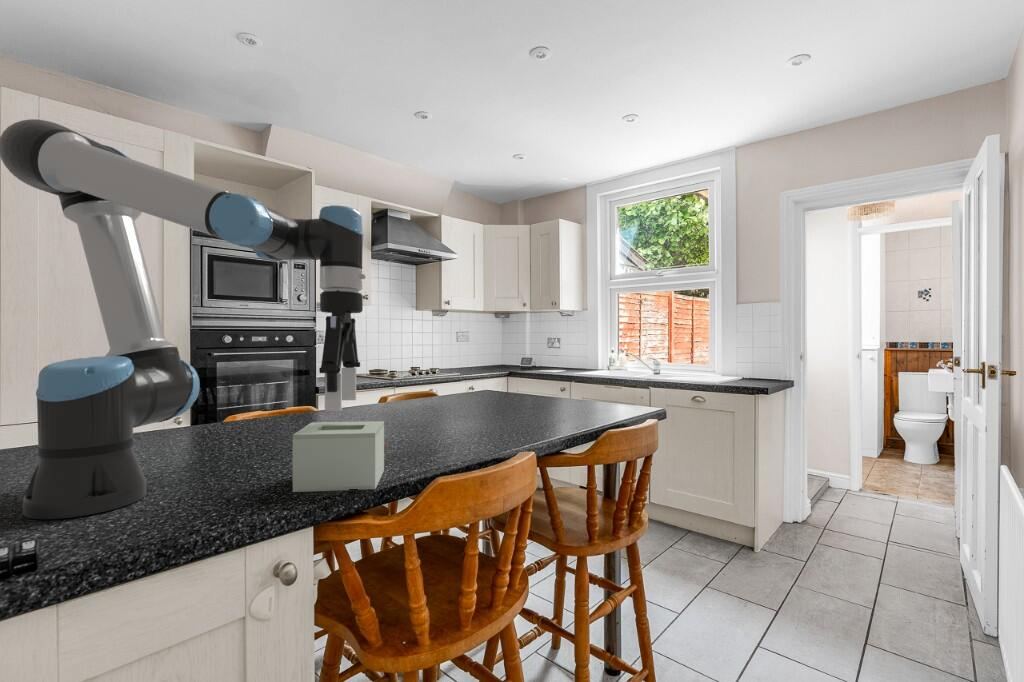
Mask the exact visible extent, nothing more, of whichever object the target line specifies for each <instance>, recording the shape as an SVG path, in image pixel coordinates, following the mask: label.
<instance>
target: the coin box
mask: <svg viewBox="0 0 1024 682" xmlns="http://www.w3.org/2000/svg"><path fill="white" fill-rule="evenodd" d="M384 443H385V421H384V420H383V421H382V420H381V421H380V420H377V421H375V420H371V421H326V422H325V421H322V422H318V421H315V422H313V421H312V422H310V423H309V424H307V425H306V426H304V427H302V428H301V429H299V430H298V431H296V432H295V433H293V434H292V493H303V492H333V491H334V492H335V491H350V490H349V489H358V490H357V491H362V490H363V491H364V490H376V488H377V486H378V484H379V481H380V480H381V478H382V476H383V474H384V471H385V451H384Z"/></svg>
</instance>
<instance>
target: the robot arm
mask: <svg viewBox="0 0 1024 682" xmlns="http://www.w3.org/2000/svg"><path fill="white" fill-rule="evenodd" d="M0 159H1V161H2V163H3V165H4V167H5V168H6V169H7V170H8V171H9V173H11V174H12V175H13V176H14V177H16V179H18V180H19V181H20V182H22V183H25V184H26V185H28V186H30V187H32V188H35V189H37V190H40V191H43V192H46V193H49V194H53V195H55V196H57V197H58V198H59V199H58V200H59V202H60V206H61V210H62V214H63V216H64V217H65V218H66V219H67V220H70V221H71V222H73V223H74V224H76V225H77V229H78V232H79V236H80V239H81V240H80V241H81V243H82V247H83V250H84V256H85V258H86V262H87V266H88V270H89V271H88V272H89V274H90V278H91V281H92V285H93V288H94V289H93V290H94V293H95V296H96V300H97V304H98V308H99V311H100V316H101V319H102V323H103V327H104V331H105V334H106V338H107V343H108V346H109V350H108V352H107V353H106V354H105V355H103V356H91V357H84V358H81V357H80V358H72V359H66V360H62V361H61V360H60V361H55V362H52V363H50V364H48V365H45V366H44V367H43V368H42V369H41V370H40V371H39V373H38V377H37V378H38V379H37V381H38V382H37V388H36V391H35V396H36V408H37V442H38V443H37V444H38V447H37V448H38V449H37V451H38V454H37V455H38V460H37V465H36V467H35V469H34V472H33V474H32V476H31V479H30V481H29V483H28V486H27V489H26V492H25V494H24V497H23V498H22V515H23V516H24V517H25V518H28V519H34V520H60V519H69V518H71V519H72V518H77V517H85V516H89V515H90V516H91V515H95V514H99V513H104V512H105V513H106V512H110V511H112V510H116V509H119V508H123V507H126V506H128V505H130V504H133V503H135V502H138V501H140V500H141V499H143V498H144V497H145V496H146V495H147V479H146V477H145V475H144V473H143V470H142V468H141V465H140V463H139V460H138V459H137V456H136V454H135V452H134V428H138V427H142V426H148V425H151V424H154V423H155V424H156V423H162V422H165V421H170V420H172V419H174V418H176V417H179V416H181V415H183V414H185V413H186V412H187V411H189V410H190V408H191V407H192V406H193V405H194V403H195V402H196V400H197V399H198V396H199V394H200V393H199V392H200V385H201V383H200V377H199V375H198V372H197V370H196V369H195V368H194V366H192V365H191V364H189V363H188V362H187V361H184V360H183V359H182V358H181V356H180V352H179V348H178V346H177V345H175V344H174V343H172V342H170V341H168V340H167V338H166V336H165V333H164V329H163V325H162V321H161V316H160V313H159V310H158V305H157V302H156V298H155V295H154V289H153V286H152V282H151V279H150V275H149V272H148V267H147V264H146V260H145V255H144V252H143V248H142V245H141V240H140V237H139V233H138V230H137V225H136V222H135V221H136V220H137V219H138V218H139V217H140V216H141V215H142V213H145V214H147V215H150V216H152V217H156V218H160V219H162V220H166V221H168V222H170V223H174V224H177V225H180V226H182V227H186V228H188V229H192V230H194V231H197V232H201V233H204V234H206V235H210V236H212V237H215V238H218V239H221V240H223V241H226V242H228V243H230V244H233V245H236V246H238V247H239V246H240V247H243V248H247V249H252V251H253V252H254V253H255V254H256V256H257V257H258V258H259V259H262V260H272V261H276V262H278V261H279V262H280V261H293V260H294V261H298V260H299V261H300V260H301V261H302V260H303V261H305V260H307V261H308V260H310V261H311V260H312V261H313V260H314V261H319V262H320V263H319V289H321V290H322V292H321V293H320V294H319V309H320V311H321V313H325V314H327V313H329V314H331V315H326V317H325V331H324V332H325V333H324V342H323V350H322V355H321V356H322V359H321V364H320V367H319V374H324V412H334V411H335V412H340V411H342V410H343V409H342V408H343V407H342V406H343V405H342V404H343V403H342V401H357V368H361V361H359V356H358V355H359V354H358V347H357V335H356V319H355V318H352V314H360V313H362V312H363V310H364V309H363V304H364V303H363V300H364V298H363V294H362V293H361V292H360V291H361V290H363V281H362V280H365V279H366V274H365V273H363V248H364V247H363V244H364V243H363V241H364V232H363V217H362V214H361V213H360V211H358V210H357V209H355V208H354V207H349V206H344V205H329V206H328V205H327V206H322V207H321V209H320V210H319V216H318V218H291V217H289V216H287V215H285V214H282V213H281V212H279V211H277V210H274V209H272V208H270V207H269V206H266V205H265V204H263V203H262V202H261V201H259V200H258V199H255V198H252V197H250V196H247V195H244V194H240V193H235V192H234V193H232V192H228V191H227V190H224V189H220V188H217V187H215V186H212V185H209V184H205V183H202V182H200V181H197V180H194V179H191V178H188V177H185V176H182V175H180V174H176V173H175V172H174V173H173V172H170V171H167V170H164V169H162V168H158V167H155V166H153V165H150V164H147V163H143V162H140V161H138V160H134V159H132V158H131V157H130V156H128V155H126V154H124V153H123V152H122V151H120V150H118V149H116V148H114V147H112V146H109V145H105V144H102V143H100V142H97V141H95V140H94V139H91V138H90V137H87V136H85V135H84V134H83V135H82V134H81V133H79V132H76V131H74V130H72V129H70V128H68V127H65V126H64V125H61V124H59V123H57V122H52V121H49V120H44V119H37V118H36V119H35V118H34V119H33V118H32V119H24V120H19V121H17V122H14V123H12V124H11V125H8V126H7V127H6V128H5V129H4V130H3V131H2V133H1V135H0ZM342 366H343V367H342Z"/></svg>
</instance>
